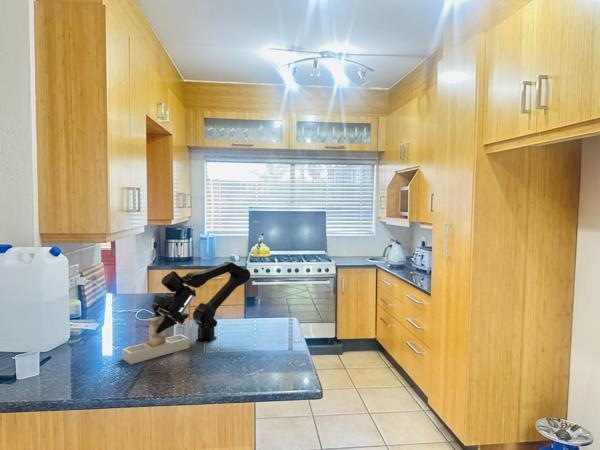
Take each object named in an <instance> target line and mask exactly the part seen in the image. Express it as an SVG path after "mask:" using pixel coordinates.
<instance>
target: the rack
mask: <svg viewBox="0 0 600 450" xmlns="http://www.w3.org/2000/svg"><path fill="white" fill-rule="evenodd" d="M189 348H190V337H188V336H185V335H183V334H181V333H180V334H176V335H171V336H168V337H167V336H166V343H163V344H159V345H155V346H152V347H151V346H149V340H148V341H145V342H143V343H139V344H136V345H135V344H134V345H132V346H128V347H124V348H122V349H121V350H122V352H121V353H122V357H121V359H122V360H124V361H125V362H126V363H128V364H129V365H134V364H137V363H140V362H144V361H147V360H151V359H154V358H158V357H161V356H164V355H169V354H171V353H176V352H178V351H183V350H186V349H189Z"/></svg>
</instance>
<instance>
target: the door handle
mask: <svg viewBox="0 0 600 450" xmlns="http://www.w3.org/2000/svg"><path fill="white" fill-rule="evenodd" d="M178 312H179V313H180V314H182V315H183V316H184V317H185V320H186V319H188V318H189V315H190V314H189V313H188V312H182V311H180V310H179V311H178ZM154 316H155V315H154V314H152V315H150V318H151V317H154Z"/></svg>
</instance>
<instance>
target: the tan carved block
mask: <svg viewBox="0 0 600 450" xmlns="http://www.w3.org/2000/svg"><path fill="white" fill-rule="evenodd" d="M163 320H164V317H162V316H158V317H153V318H151V317H149V318H148V341H149V346H151V347H152V346H155V345H159V344H163V343H166V338H167V336H166V335H167V334H166V330H167V329H165V330H164V331H162V332H160V333H158V334H157V333H156V331H157V329H158V327H159V326H160V324H161V323H162V321H163Z"/></svg>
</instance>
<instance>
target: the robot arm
mask: <svg viewBox="0 0 600 450" xmlns="http://www.w3.org/2000/svg"><path fill="white" fill-rule="evenodd" d="M226 273H228V274H230V275H229V280H228V281H227V282H226V283H225V284H224V285H223V286H222V287H221V288H220V289H219V290H218V292H216V293H215V294H214V295H213V296H212V297H211V299H210V300H209V301H208V302H207V303H203V302H201V303H199V304H198V306H197V307H195V308H194V311H193V312H192V319H193V321H195V325H197V326H198V328H197V338H196V339H195V340H196V342H197V341H198V342H203V343H210V342H213V341H214V340H215V339H217V338H218V337H217V336H215V328H216V327H217V324H218V320H216V319H215V318H214V317H215V316H216V311H217V309H219V307H220V306H221V305H222V304H223V303H224V302H225V301H226V300H227V299H228V297H229V296H230V295H231V294H233V292H234V291H235V290H236V289H237V288H238V287H241V286H243V285H244V284H245V283H248V281H250V278H251V272H250V270H249V269H247V268H242V267H241V266H239V265H237V264H235V262H232V261H224V262H223V263H221V264H218V265H215V266H212V267H211V268H207V269H204V270H201V271H200V270H199V271H198V270H197V271H192V272H188V273H186V274H185V275H184V276H179V274H178V273H177V272H176V271H174V270H171V272H169V273H167V274H166V275H164V277H163V278H162V279H161V283H160V284H161V285H162V286H163V287H165V288H166V289H167V290H168V291H170V293H173V295H170V296H168V295H164V296H161V295H158V294H155V296H154V297H153V300H152V303H153V304H152V305H151V306H150V308H151V310H153V311H152V312H153V315H155V316H154V317H158V316H162V317H164V320H163V321H162V323H161V324H160V326H159V327H158V329H157V331H156V333H157V334H158V333H160V332H162V331H164V330H165V329H166V330H167V329H169V328H171V327H173V326H176V325H177V324H180V325H183V324H184V323H185V321H186V319H185V317H184V316H183V315H182V314H180V313H179V312H180V310H181V308H183V309H184V308H185V306H186V305H185V303H186V302H187V301H188V299H189V298H190V297H191V296H192V297H197V292H196V289H198V288H200V287H202V286H203V285H206V283H207V282H208V281H209V280H212V279H214V278H217V277H219V276H222V275H224V274H226ZM194 288H195V289H194ZM178 311H179V312H178Z"/></svg>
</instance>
